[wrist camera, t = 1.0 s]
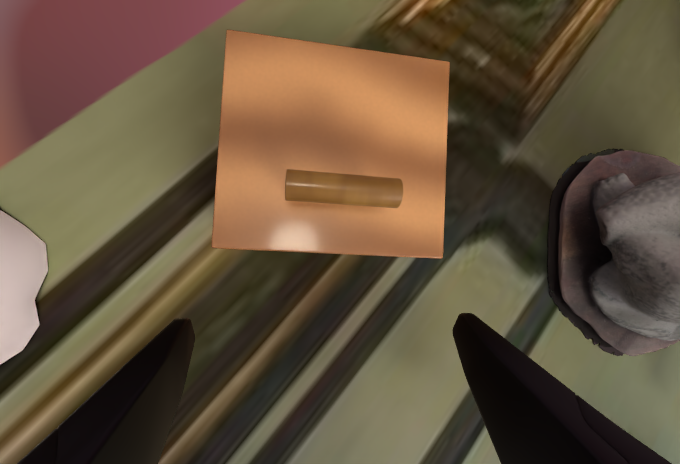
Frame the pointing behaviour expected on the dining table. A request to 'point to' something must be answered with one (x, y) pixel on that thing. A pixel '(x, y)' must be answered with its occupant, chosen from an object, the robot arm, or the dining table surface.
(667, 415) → the dining table surface
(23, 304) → the figurine
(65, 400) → the dining table surface
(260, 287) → the dining table surface
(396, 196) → the lid
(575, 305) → the angel statue
